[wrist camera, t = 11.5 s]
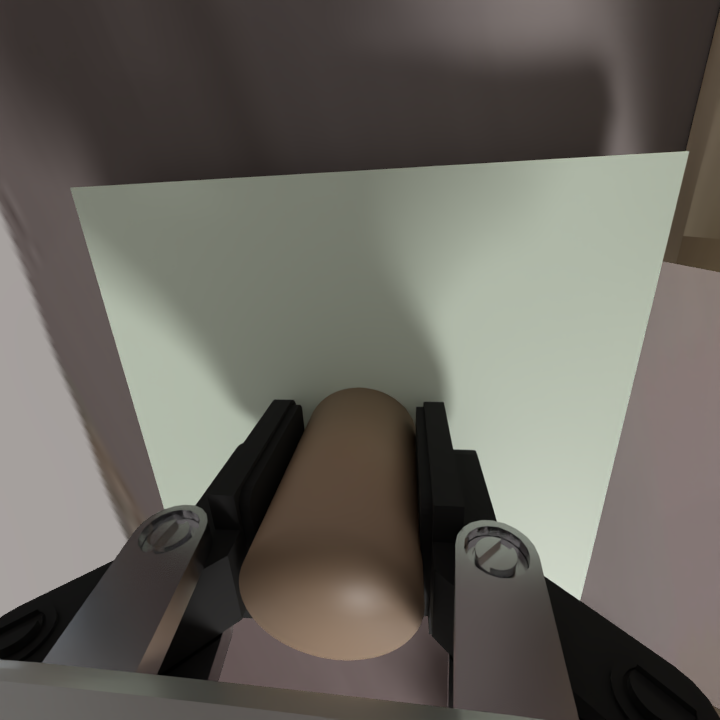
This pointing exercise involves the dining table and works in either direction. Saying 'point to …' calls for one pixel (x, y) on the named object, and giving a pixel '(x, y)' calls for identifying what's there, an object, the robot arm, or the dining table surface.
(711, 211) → the box
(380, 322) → the lid
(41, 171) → the dining table surface
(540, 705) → the robot arm
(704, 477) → the dining table surface
